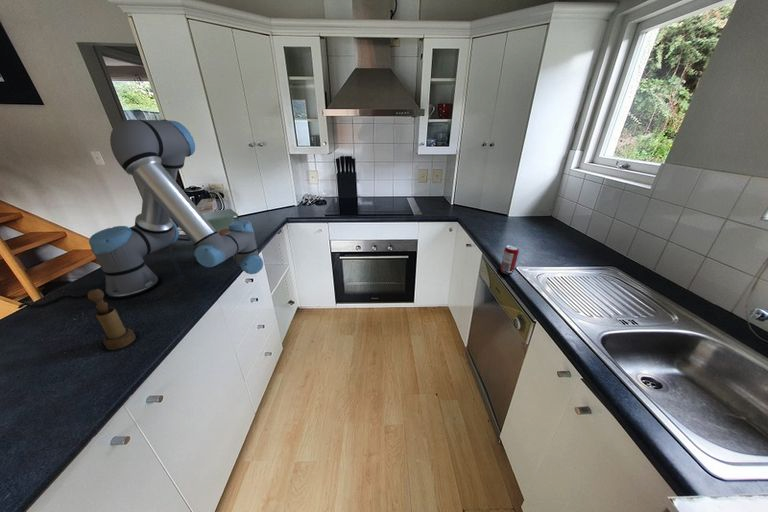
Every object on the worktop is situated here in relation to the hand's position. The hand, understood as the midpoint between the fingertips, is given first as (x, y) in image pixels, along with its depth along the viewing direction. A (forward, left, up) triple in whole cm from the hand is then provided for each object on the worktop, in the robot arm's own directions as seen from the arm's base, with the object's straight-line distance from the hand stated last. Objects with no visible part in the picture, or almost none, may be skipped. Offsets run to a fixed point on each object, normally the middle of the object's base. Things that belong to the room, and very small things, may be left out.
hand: (226, 236), depth 126 cm
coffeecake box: (+1, +35, -11) cm, 37 cm away
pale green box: (0, +9, -10) cm, 14 cm away
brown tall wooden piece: (-40, -41, -11) cm, 58 cm away
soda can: (+88, -94, -11) cm, 129 cm away
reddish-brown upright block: (0, -5, -6) cm, 8 cm away
